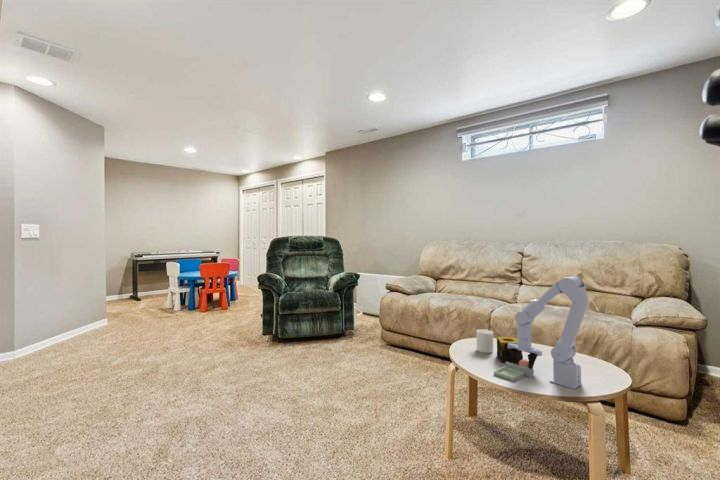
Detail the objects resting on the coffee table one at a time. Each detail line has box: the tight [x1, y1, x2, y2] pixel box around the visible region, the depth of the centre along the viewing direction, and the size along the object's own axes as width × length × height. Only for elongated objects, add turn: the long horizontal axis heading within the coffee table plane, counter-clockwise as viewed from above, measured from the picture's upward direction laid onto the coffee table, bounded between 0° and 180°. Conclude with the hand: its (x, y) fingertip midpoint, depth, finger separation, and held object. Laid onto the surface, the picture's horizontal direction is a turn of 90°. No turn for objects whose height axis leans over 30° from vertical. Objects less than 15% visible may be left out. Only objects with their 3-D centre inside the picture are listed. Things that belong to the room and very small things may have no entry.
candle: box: [496, 336, 524, 364], centre depth 166 cm, size 10×10×10 cm
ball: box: [518, 358, 529, 368], centre depth 152 cm, size 5×5×5 cm
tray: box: [493, 365, 525, 382], centre depth 147 cm, size 9×9×2 cm
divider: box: [505, 362, 535, 380], centre depth 149 cm, size 12×2×4 cm, turn 39°
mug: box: [476, 328, 494, 354], centre depth 181 cm, size 12×8×10 cm
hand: (524, 367), depth 152 cm, fingers closed on ball, 5 cm apart
